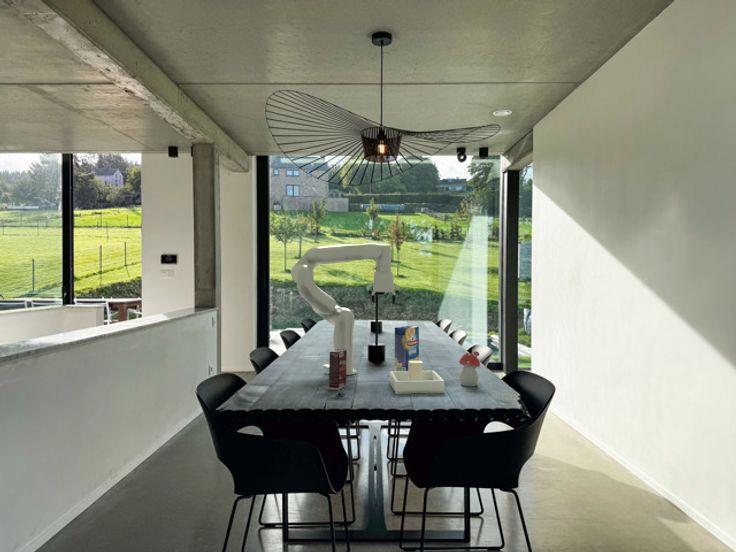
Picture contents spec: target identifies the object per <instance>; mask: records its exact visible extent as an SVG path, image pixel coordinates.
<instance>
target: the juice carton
mask: <svg viewBox="0 0 736 552" xmlns="http://www.w3.org/2000/svg"><path fill="white" fill-rule="evenodd" d="M423 371H424V362H423V361H422V360H419V361H408V381H423Z"/></svg>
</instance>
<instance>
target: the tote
mask: <svg viewBox="0 0 736 552" xmlns="http://www.w3.org/2000/svg"><path fill="white" fill-rule="evenodd" d="M389 384H390V386H391V388H392V389H394V390H393V392H394V391H395V392H394V394H395V393H396V394H395V395H411V393H412V395H413V393H426V394H445V379H443V378H442V377H441V376H440V375H439V374H438V373H437V372H436V371H435V370H423V381H408V371H395V370H391V371H389Z"/></svg>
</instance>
